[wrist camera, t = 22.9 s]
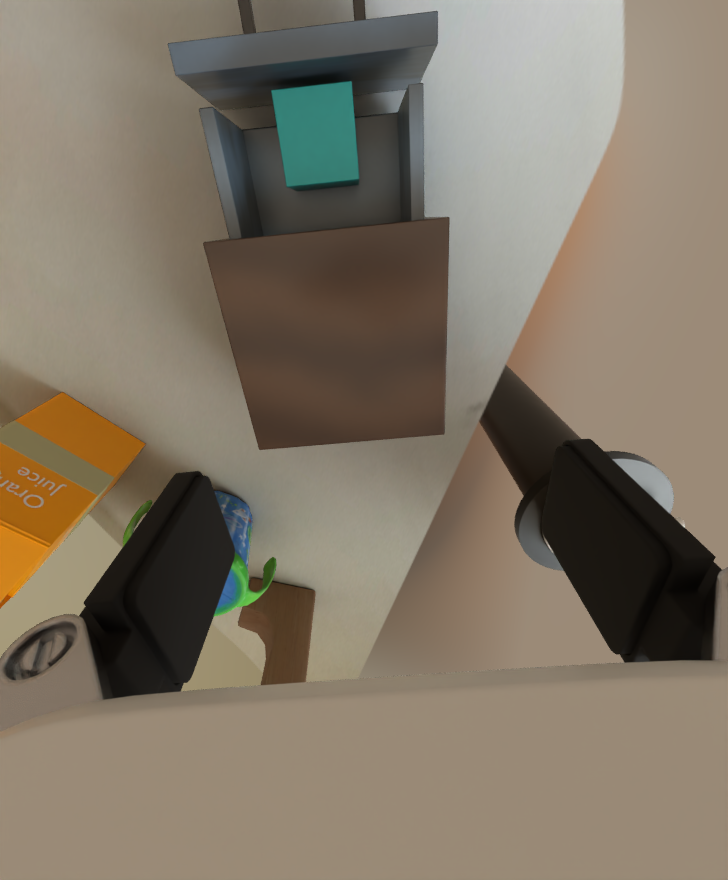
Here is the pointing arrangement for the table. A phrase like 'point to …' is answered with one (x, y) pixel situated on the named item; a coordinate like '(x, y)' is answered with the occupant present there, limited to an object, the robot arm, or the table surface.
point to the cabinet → (338, 330)
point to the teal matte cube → (317, 135)
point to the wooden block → (281, 629)
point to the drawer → (304, 64)
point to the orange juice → (53, 481)
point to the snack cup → (240, 532)
